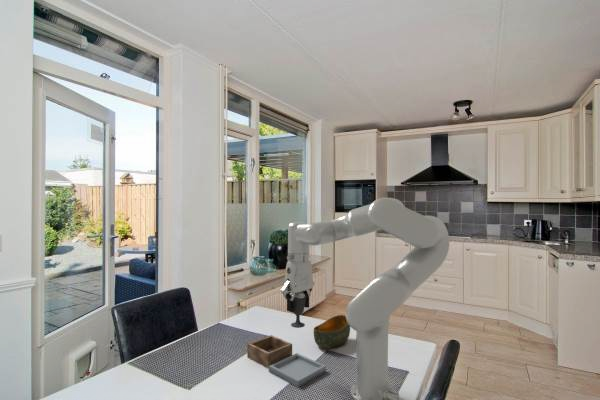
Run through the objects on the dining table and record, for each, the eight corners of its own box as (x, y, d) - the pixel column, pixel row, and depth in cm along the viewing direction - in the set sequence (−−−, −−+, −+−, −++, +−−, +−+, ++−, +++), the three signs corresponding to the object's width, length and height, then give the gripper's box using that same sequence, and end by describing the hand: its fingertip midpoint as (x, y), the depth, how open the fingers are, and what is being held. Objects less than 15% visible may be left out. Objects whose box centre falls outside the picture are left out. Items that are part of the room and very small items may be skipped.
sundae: (305, 329, 110) (306, 284, 110) (286, 327, 111) (286, 283, 112) (309, 322, 116) (309, 280, 117) (290, 321, 118) (291, 279, 118)
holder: (292, 357, 124) (292, 343, 124) (268, 368, 116) (268, 354, 116) (271, 347, 133) (271, 335, 133) (247, 357, 124) (247, 343, 124)
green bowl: (363, 347, 133) (362, 322, 133) (316, 353, 128) (315, 327, 128) (350, 335, 146) (350, 312, 146) (307, 340, 141) (307, 316, 141)
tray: (325, 371, 114) (325, 365, 114) (298, 387, 104) (298, 381, 104) (296, 358, 123) (296, 353, 123) (268, 371, 113) (268, 366, 113)
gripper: (288, 261, 105) (288, 317, 105) (322, 256, 118) (322, 306, 118) (272, 259, 110) (272, 312, 110) (307, 254, 123) (306, 301, 123)
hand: (298, 308), depth 114 cm, fingers closed on sundae, 6 cm apart
